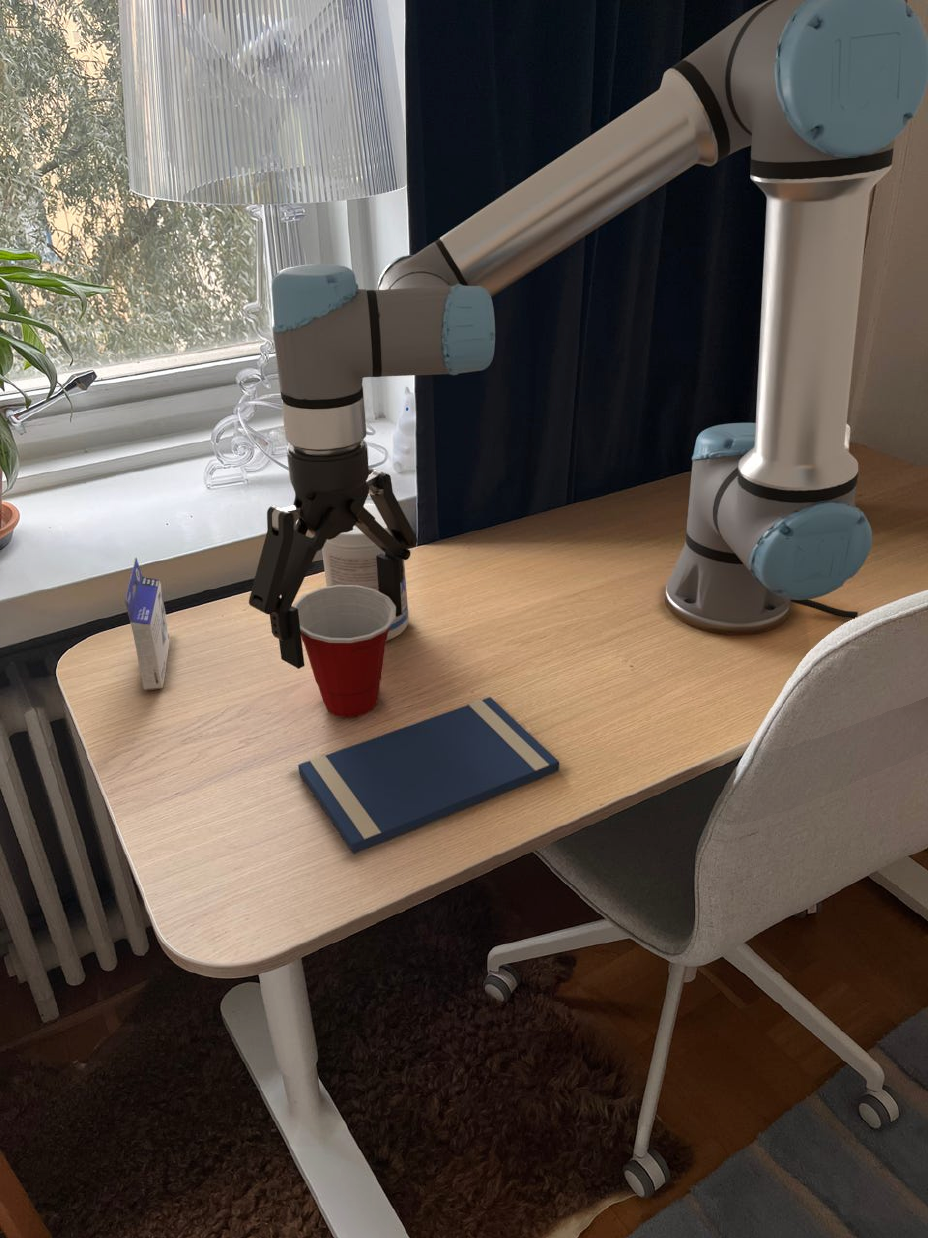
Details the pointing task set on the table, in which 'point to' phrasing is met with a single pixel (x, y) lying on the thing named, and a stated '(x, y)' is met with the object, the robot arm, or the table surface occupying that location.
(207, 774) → the table surface
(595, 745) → the table surface
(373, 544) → the supplement tub
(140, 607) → the ink box
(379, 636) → the plastic cup
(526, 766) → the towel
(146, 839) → the table surface
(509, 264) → the robot arm
